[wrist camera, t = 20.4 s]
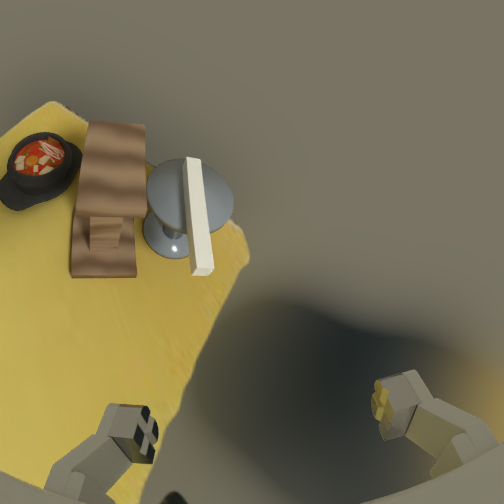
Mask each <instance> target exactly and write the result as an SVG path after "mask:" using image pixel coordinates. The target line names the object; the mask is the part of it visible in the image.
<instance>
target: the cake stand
mask: <svg viewBox="0 0 504 504" xmlns="http://www.w3.org/2000/svg"><path fill="white" fill-rule="evenodd" d="M184 162H185V159H172V160H168V161H165V162H163V163H161V164H159V165H158V166H157V167H156V168H155V169H154V170H153V171H152V172H151V174H150V176H149V178H148V181H147V185H146V195H147V203H148V206H149V208H150V210H151V212H150V213H149V214H148V216H147V217H146V219H145V222H144V226H143V234H144V238H145V241H146V242H147V244H148V246H149V247H150V248H151V249H152V250H153V251H154V252H155V253H157V254H158V255H160V256H162V257H165V258H169V259H182V258H185V257H188V256H189V248H188V237H187V226H186V215H185V202H184V188H183V173H182V166H183V164H184ZM201 168H202V176H203V185H204V193H205V201H206V209H207V217H208V225H209V232H210V233H213V232H215V231H217V230H219V229H220V228H221V227H222V226H223V225H224V224H225V223H226V222H227V220H228V219H229V218H230V215H231V214H232V211H233V207H234V200H233V195H232V191H231V189H230V187H229V185H228V183H227V182H226V181H225V180H224V178H223V177H222V176H221V175H220V174H219V173H218V172H216V171H215V170H214V169H213V168H211V167H209V166H207V165H206V164H203V163H201Z"/></svg>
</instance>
